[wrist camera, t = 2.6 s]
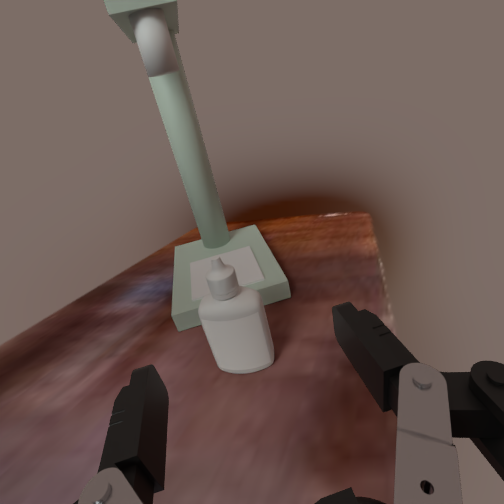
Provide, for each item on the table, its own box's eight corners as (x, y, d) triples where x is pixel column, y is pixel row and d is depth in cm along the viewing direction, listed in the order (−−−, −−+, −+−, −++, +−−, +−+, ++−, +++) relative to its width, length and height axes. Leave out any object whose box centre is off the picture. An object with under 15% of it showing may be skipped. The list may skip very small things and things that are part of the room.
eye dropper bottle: (260, 388, 26) (227, 279, 20) (212, 367, 29) (171, 267, 23) (282, 351, 29) (259, 247, 23) (236, 336, 32) (205, 240, 26)
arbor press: (335, 283, 36) (302, -149, 19) (178, 331, 34) (-16, -95, 17) (289, 228, 51) (247, -35, 34) (179, 259, 50) (79, -1, 33)
